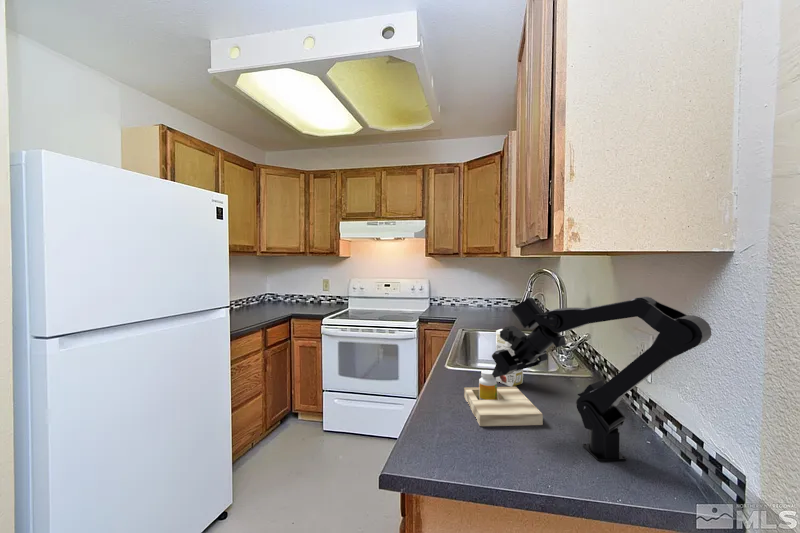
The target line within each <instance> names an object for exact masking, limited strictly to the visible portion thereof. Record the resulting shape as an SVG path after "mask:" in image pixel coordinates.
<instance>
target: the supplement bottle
mask: <svg viewBox="0 0 800 533" xmlns="http://www.w3.org/2000/svg"><path fill="white" fill-rule="evenodd" d="M493 371H494V370H489V369H484V370H481V374H480V378H479V379H478V387H479V400H497V387H498V382H497V381H496V378H495V377H493V375H492V373H493Z"/></svg>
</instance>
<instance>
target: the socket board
mask: <svg viewBox="0 0 800 533" xmlns="http://www.w3.org/2000/svg"><path fill="white" fill-rule="evenodd" d="M463 392H464V393H463V397H464V399H465V401H466V402H468V403H467V404H469V405H468V406H470V407H469V409H470V410H471V412H472V414H473V416H474V417H476V418H475V420H476V419H477V420H476V422H477V423H478V425H479V427H507V426H509V427H510V426H512V427H513V426H543V423H544V422H543V421H544V419H543V417H544V416H543V415H544V414H543V412H541V411H540V410H539V408H538V407H537V406H535V405H534V404H533V403H532V401H530V399H529V398H527V397H526V396H525V394H524V393H522V391H521V390H520V389H519V388H518V387H517V386H513V387H510V386H497V400H479V386H478V387H477V386H476V387H474V386H473V387H463Z"/></svg>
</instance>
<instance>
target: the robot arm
mask: <svg viewBox="0 0 800 533" xmlns="http://www.w3.org/2000/svg"><path fill="white" fill-rule="evenodd" d="M511 313H512V314H513V315H514V317H515V318H516V320H517V321H518V322H519V323H520V325H521V326H522V327H523V328H524V329H530V330H532V331H531V332H530V333H529V334H526V333H525V332H523V331H522V330H521V329H519V328H518V327H516V326H515V325H509V326H505V327H504V328H501V329H502V331H500V337H501V338H502V339H503V340H504V341H507V342H509V343H510V344H512V346H510V347H511V349H512V350H514V351H515V352H514V354H515V355H514V356H511V354H510V353H509V351H508V350H505V349H502V350H498V351H496V350H495V351H494V352H493V353H492V354H491V358H492V360H493V361H494V362H495V365H494V368H493V370H492V371H493V373H492V375H493V377H494V378H496V377H499V376H503V375H508V374H511V373H513V372H514V371H517V370H521V369H523V370H525V369H530V368H533V367H536V366H539V365H541V364H545V362H546V361H547V360H548V359H549V357H548V354H547V353H548V352H547V350H548V349H549V348H550V347H552V345H554V346H555V347H556V348H560V347H561V348H562V347H564V346H566V340H565V339H566V338H565V337H566V336H565V335H563V334H560V333H564V332H567V331H568V332H569V331H572V330H575V329H577V328H580V327H583V326H586V325H589V324H594V323H602V322H609V321H615V320H624V319H629V318H635V317H636V318H637V317H638V318H639V319H641V320H642V321H644V322H645V323H646V324H647V325H649V327H651V328H652V329H653V330H655V331H656V332H657V333H658V334H657V336H656V338H655V340H654V341H653V342H652V344H651V345H650V347H648V349H646V350H645V351H643V352H642V353H641V354H640V355H638V357H636V358H635V359H634V360H633V361H631V362H630V363H629V364H628V365H626V366H625V367H623V369H622V370H621V371H619V372H618V373H617V374H616V375H614V376H613V377H612V378H611V379H609V380H608V381H606V383H604V381H603V380H602V379H599V380H597V381H595V382H593V383H590V384H588V385H587V386H586V388H585V389H584V390H583V391H581V392H579V393H577V396H578V398H577V399H576V402H575V404H576V409H577V412H578V413H579V415H580V417H581V420H582V423H583V427H584V428H585V430H588V443H582V447H583V448H584V449H585V450H586V451H587V452H589V453H590V455H592V457H594V459H595V460H597V461H599V462H611V461H613V462H615V461H617V462H619V461H627V457H626V456H625V455H624V454H623V453H621V452H620V431H619V430H620V429H619V428H620V426H623V425H624V423H625V421H626V420H627V418H626V417H625V415H624V414H623V412H622V411H621V410H620V409H619V408H618V406H619V404H620V403H621V400H622V399H623V397H624V396H625V395H626V394H628V392H630V391H631V390H632V389H634V388H635V387H637V386H638V385H639V384H640V383H642V382H643V381H645V379H647V378H648V377H649V376H651V375H652V374H653V373H655V372H656V371H657V370H659V368H661V367H663V365H665V364H666V363H668V362H669V361H671V359H674V358H675V357H678V356H680V355H682V354H684V353H686V352H688V351H690V350H693V349H694V348H696V347H698V346H700V345H702V344H703V343H704V344H705V343H706V342H708V341H709V339H710V338H711V336H712V328H711V326H710V324H709V323H708V321H707V320H706V319H704V318H702V317H701V316H697V315H695V314H694V315H692V314H691V315H689V314H686V313H684V312H682V311H680V310H679V309H675V308H673V307H670V306H669V305H666V304H663V303H662V302H659V301H657V300H656V299H654V298H653V297H649V296H640V297H635V298H633V299H630V300H629V299H628V300H625V301H620V302H613V303H609V304H602V305H598V306H593V307H591V306H590V307H561V308H556V309H551V310H549V311H545V312H544V311H543V310H542V309H541V308H540V306H539V305H538V304H537V303H536V301H535V299H533V297H527V298H526V299H524V300H523V301H521V302H519V303H518V304H516V305H515V306H513V307H512V309H511Z"/></svg>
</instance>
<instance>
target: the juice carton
mask: <svg viewBox="0 0 800 533" xmlns="http://www.w3.org/2000/svg"><path fill="white" fill-rule="evenodd" d="M502 329H503V328H500V329H497V330H495V351H498V350H502V349H505V350H508V351H509V353H510V354H511V356H514V355H515V354H514V352H515V351H514V350H512V349H511V347H510V346H512V344H510V343H509V342H507V341H504V340H503V339H502V338H501V337H500V331H502ZM523 378H524V369H521V370H517V371H514V372H513V373H511V374H508V375H503V376H499V377H495V379H496V381H497V383H499V382H500V384H502V385H505V386H506V387H517V386H518V385H521V384H523V382H524V381H523V380H524V379H523Z"/></svg>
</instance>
